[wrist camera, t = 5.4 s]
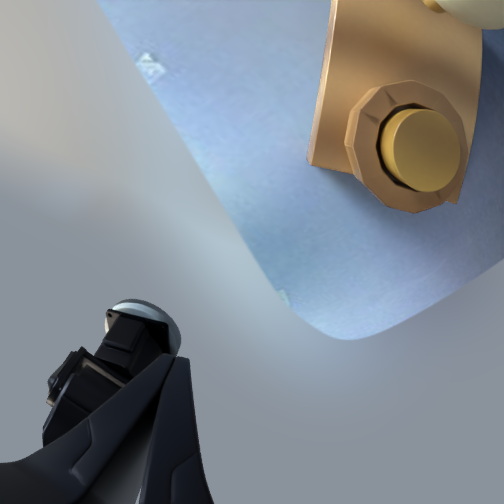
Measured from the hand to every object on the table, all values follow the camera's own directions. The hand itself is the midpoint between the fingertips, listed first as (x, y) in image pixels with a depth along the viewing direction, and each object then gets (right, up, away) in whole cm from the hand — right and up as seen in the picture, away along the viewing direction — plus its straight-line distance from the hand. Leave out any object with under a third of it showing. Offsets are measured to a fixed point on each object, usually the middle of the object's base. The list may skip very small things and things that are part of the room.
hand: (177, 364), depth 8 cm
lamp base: (+12, +14, +5) cm, 19 cm away
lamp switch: (+11, +9, +4) cm, 14 cm away
